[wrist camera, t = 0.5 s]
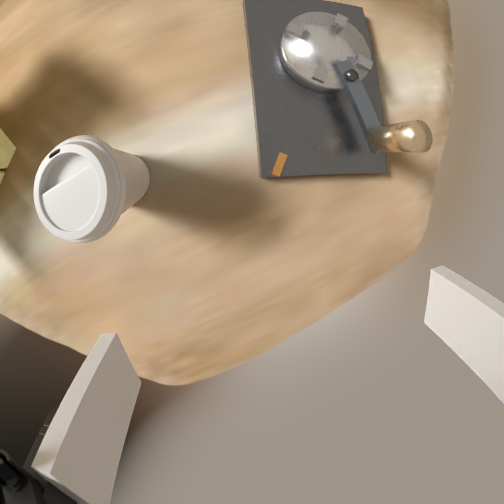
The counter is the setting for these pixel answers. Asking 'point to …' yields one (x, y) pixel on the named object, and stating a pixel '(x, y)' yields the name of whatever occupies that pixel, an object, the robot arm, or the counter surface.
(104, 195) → the coffee cup
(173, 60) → the counter surface
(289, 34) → the lever with amber grip
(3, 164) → the slatted curved stool
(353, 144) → the plate
